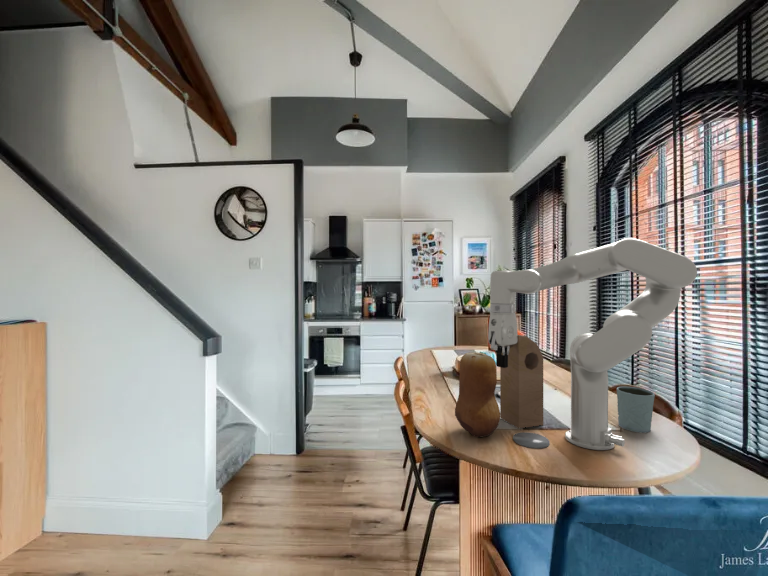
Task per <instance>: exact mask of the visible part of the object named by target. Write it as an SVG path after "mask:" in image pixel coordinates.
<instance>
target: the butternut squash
mask: <svg viewBox="0 0 768 576" xmlns="http://www.w3.org/2000/svg"><path fill="white" fill-rule="evenodd" d="M497 369H498V368H497V366H496V360H495V359H494V358H493V357H492V356H490V355H488V354H487V353H483V352H466V353H464V354H463V355H462V356H461V358H460V361H459V376H458V377H459V380H458V381H459V382H458V384H459V385H458V397H457V401H456V404H455V408H454V416H455V419H456V420H457V421H458V423H459V425H460V426H461V427H462V429H463V430H465V431H466V432H468V433H469V434H471V436H473V437H476V438H482V437H487V436H488V437H489V436H490V435H492V434H493V433H494V431H495V430H496V429H497V428H498V427H499V425H500V421H501V418H500V406H499V403H498V401H497V398H496V396H495V393H496V387H497V382H498V377H497V376H498V375H497V374H498V373H497V372H498V371H497Z"/></svg>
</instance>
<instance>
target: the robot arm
mask: <svg viewBox="0 0 768 576" xmlns="http://www.w3.org/2000/svg"><path fill="white" fill-rule="evenodd" d="M625 271H630V272H631V273H634V274H636V275H638V276H642V277H643V278H645V287H644V290H643V291H642V292H641V293H640V294H639V295H638V296H637V297H635V298H634V299H633V300H632V301H630V302H629V303H627V304H626V305H624V306H622V307H621V308H620V309H618V310H617V311H615V312H613V313H612V314H610V315H609V316H608V317H607V318H606V319H605V320H604V322H603V325H602V328H600V329H599V330H597V331H596V332H595V333H589V332H588V333H587V332H586V333H581V334H579V335H577V336H576V337H574V339H572V341H571V343H570V347H569V360H570V361H569V363H570V430H567V431H566V432H565V433H564V434H565V435H564V437H565V439H566V440H567V441H568V442H569V443H570V444H573V445H574V446H577V447H581V448H584V449H588V450H595V451H607V450H608V451H609V450H612V449H614V448H615V445H616V446H619V447H625V443H626V442H625V441H626V440H625V439H624V438H623V436H620V435H616V434H614V433H613V429H612V428H610V427H609V372H608V371H609V370H611V369H613V368H614V367H616V366H618V365H619V364H620V363H622V362H624V361H626V360H627V359H628V358H630V357H632V356H633V355H634V354H636V353H638V352H639V351H641V350H642V349H644V347H646V346H647V345H648V344H649V342H650V341H651V339H652V336H653V328H654V327H655V326H656V325H658V324H659V323H661V322H662V321H664V319H667V318H668V317H669V316H670V315H671V314H672V313H673V312H674V310H676V308H677V306H678V304H679V301H680V299H681V292H682V289H683V288H686V287H688V286H689V285H691V284H692V283H694V281H695V280H696V278H697V275H698V269H697V266H696V264H695V262H693V260H692V259H690V258H688V257H686V256H685V255H682V254H679V253H678V252H674V251H672V250H668V249H665V248H663V247H661V246H658V245H655V244H653V243H649V242H647V241H645V240H641V239H639V238H638V239H637V238H635V237H626V238H623V239H621V240H618V241H615V242H612V243H609V244H605V245H602V246H599V247H596V248H592V249H588V250H584V251H581V252H577V253H574V254H571V255H569V256H566V257H564V258H562V259H560V260H557V261H555V262H553V263H550V264H549V263H548V264H547V265H543V266H539V267H536V268H533V269H530V268H529V269H521V270H514V271H513V270H494V271H492V272H491V273H490V278H489V279H490V281H489V282H490V284H489V285H490V286H489V287H490V289H489V291H490V293H489V294H490V295H489V296H490V301H489V302H490V304H489V305H490V306H489V307H490V308H489V322H488V333H487V334H488V335H487V336H488V338H487V339H488V343H489V345H490V350H493V351H494V352H495V353H494V354H495V355H496V356H495V363H496V368H497V367H498V368H500V367H502V368H506V367H508V354H509V349H510V348H511V347H513V345H515V344H516V343H517V342H518V335H519V334H518V321H517V315H516V313H515V312H516V293H519V294H526V295H532V294H535V293H537V292H541V291H544V290H548V289H551V288H556V287H560V286H564V285H573V284H579V283H583V282H586V281H590V280H591V281H592V280H594V279H597V278H602V277H606V276H609V275H614V274H617V273H620V272H625Z"/></svg>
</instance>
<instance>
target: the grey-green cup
mask: <svg viewBox="0 0 768 576" xmlns="http://www.w3.org/2000/svg"><path fill="white" fill-rule="evenodd" d="M655 394H656V393H654V392H653V391H651V390H648V389H644V388H640V387H634V386H618V387H616V398H617V399H616V401H617V405H616V406H617V415H618V416H617V417H618V426H619V427H620V428H621V429H624V430H627V431H630V432H633V433H634V432H636V433H649V432H651V430H652V421H653V413H654V412H653V410H654V401H655V396H656V395H655Z"/></svg>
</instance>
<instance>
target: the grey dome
mask: <svg viewBox="0 0 768 576" xmlns="http://www.w3.org/2000/svg"><path fill="white" fill-rule="evenodd" d="M512 440H513V442H514V443H515V444H517V445H519V446H521V447H524V448H525V447H526V448H530V449H546V448H548V447H549V446H550V445H551V444H550V440H549V439H548V438H547V437H546V436H545V435H542V434H540V433H535V432H527V431H523V432H522V431H521V432H516V433H514V434H513V436H512Z"/></svg>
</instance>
